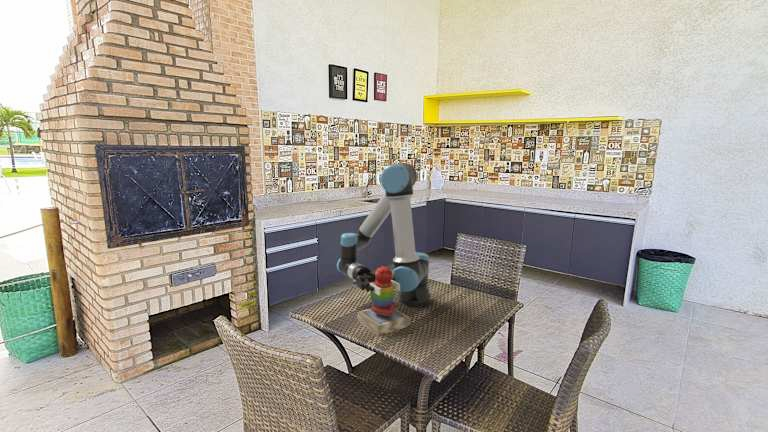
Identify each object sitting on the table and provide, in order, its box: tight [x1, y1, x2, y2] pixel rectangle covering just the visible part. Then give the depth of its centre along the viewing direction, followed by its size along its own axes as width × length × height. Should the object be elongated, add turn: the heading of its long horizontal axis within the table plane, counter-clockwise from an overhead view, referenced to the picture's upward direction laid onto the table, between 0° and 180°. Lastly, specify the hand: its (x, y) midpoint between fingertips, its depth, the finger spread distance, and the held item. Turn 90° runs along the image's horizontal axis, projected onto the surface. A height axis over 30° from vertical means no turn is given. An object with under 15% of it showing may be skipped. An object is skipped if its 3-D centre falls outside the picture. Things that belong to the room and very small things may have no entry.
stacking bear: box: [370, 265, 398, 316], centre depth 152 cm, size 11×10×18 cm
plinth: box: [356, 307, 410, 337], centre depth 155 cm, size 15×15×4 cm
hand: (389, 289), depth 148 cm, fingers closed on stacking bear, 9 cm apart
